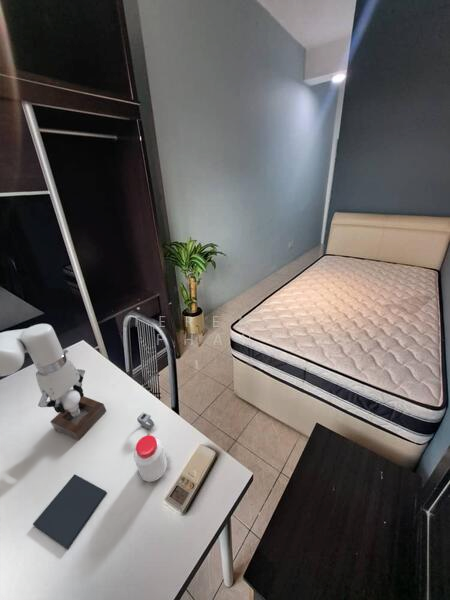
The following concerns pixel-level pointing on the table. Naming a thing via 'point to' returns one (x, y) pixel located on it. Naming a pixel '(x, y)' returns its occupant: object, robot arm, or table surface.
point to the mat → (70, 510)
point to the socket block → (84, 424)
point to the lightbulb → (71, 402)
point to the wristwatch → (145, 420)
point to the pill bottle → (150, 458)
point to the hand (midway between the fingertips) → (71, 402)
